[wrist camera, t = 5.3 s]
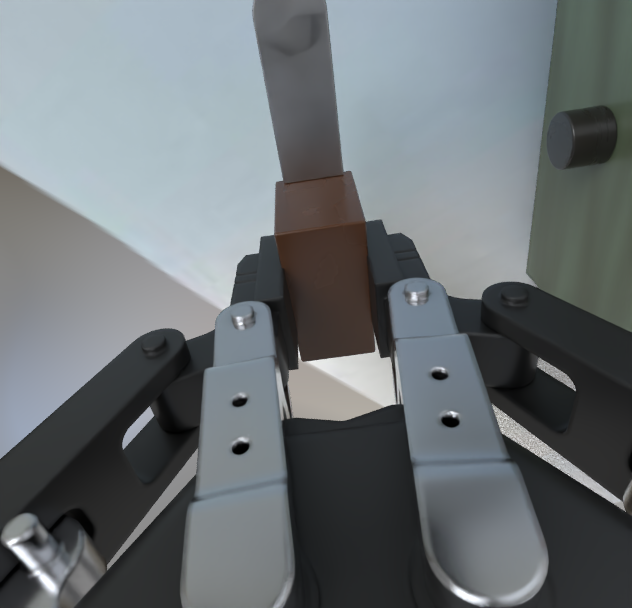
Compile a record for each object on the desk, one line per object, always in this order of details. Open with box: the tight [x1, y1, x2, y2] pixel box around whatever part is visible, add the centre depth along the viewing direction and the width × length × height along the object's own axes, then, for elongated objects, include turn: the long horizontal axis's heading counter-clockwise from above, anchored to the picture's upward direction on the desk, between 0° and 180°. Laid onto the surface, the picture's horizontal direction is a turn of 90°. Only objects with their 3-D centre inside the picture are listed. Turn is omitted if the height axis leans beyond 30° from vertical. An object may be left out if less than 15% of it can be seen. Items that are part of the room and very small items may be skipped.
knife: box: [252, 0, 375, 362], centre depth 12 cm, size 9×2×3 cm, turn 8°
